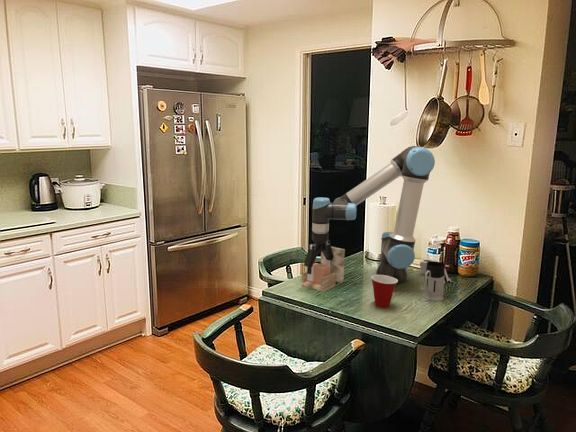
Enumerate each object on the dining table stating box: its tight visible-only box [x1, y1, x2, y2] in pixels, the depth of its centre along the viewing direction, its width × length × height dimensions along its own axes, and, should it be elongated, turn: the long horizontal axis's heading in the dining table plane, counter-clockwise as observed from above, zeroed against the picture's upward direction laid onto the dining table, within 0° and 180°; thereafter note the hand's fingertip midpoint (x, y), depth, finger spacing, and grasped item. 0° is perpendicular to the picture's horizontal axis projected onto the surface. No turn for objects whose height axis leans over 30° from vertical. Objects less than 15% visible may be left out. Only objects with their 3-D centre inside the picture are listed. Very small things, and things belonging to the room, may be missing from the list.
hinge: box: [419, 258, 452, 284], centre depth 228 cm, size 17×5×10 cm, turn 22°
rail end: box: [309, 262, 330, 285], centre depth 214 cm, size 8×5×8 cm, turn 51°
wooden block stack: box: [301, 246, 346, 292], centre depth 216 cm, size 12×17×16 cm
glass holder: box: [422, 260, 446, 301], centre depth 200 cm, size 9×14×15 cm, turn 140°
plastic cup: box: [370, 274, 398, 309], centre depth 191 cm, size 11×11×12 cm
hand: (318, 276), depth 214 cm, fingers open, 13 cm apart
